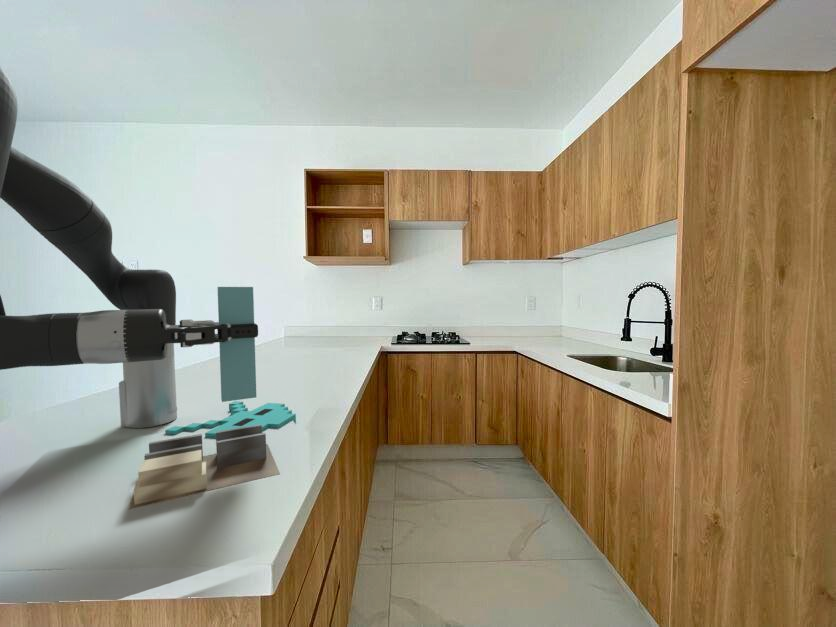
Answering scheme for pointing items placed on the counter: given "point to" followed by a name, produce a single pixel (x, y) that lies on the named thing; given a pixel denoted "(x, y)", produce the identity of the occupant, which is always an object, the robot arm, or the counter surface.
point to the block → (237, 345)
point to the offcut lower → (170, 487)
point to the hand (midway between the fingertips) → (256, 329)
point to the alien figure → (243, 419)
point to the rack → (222, 458)
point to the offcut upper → (170, 468)
